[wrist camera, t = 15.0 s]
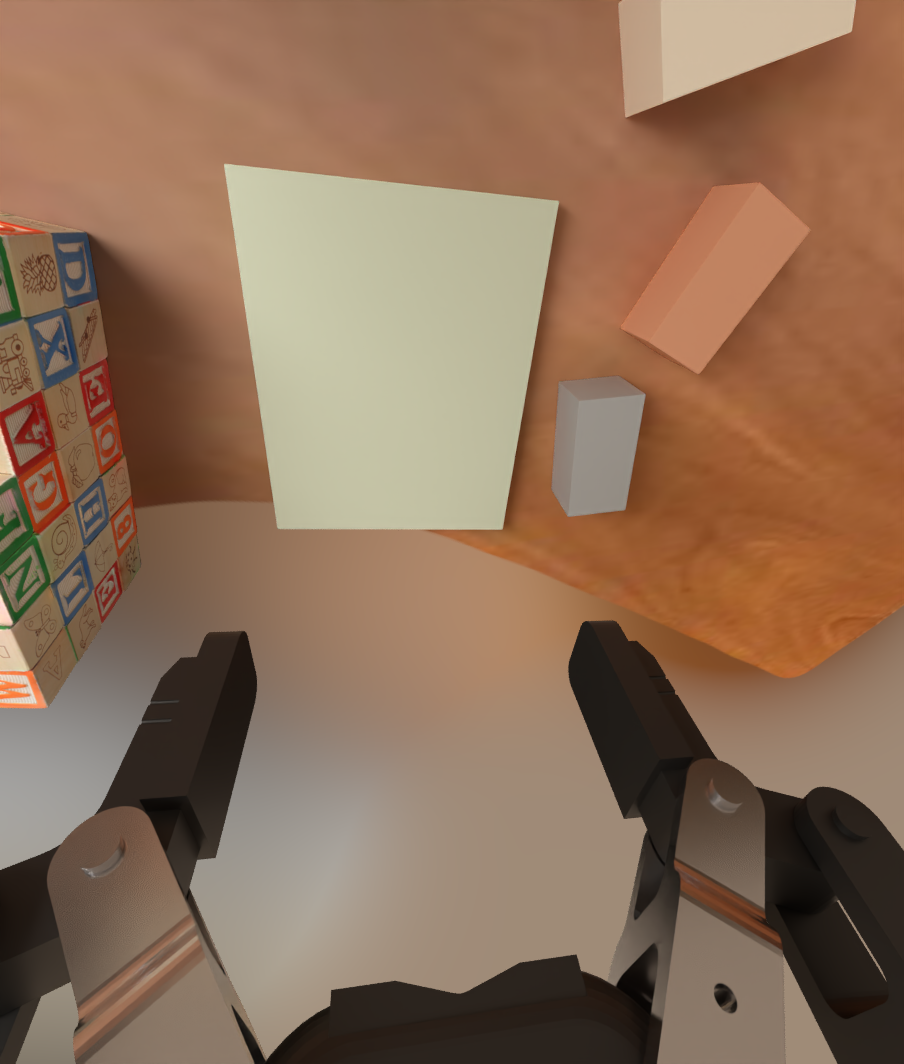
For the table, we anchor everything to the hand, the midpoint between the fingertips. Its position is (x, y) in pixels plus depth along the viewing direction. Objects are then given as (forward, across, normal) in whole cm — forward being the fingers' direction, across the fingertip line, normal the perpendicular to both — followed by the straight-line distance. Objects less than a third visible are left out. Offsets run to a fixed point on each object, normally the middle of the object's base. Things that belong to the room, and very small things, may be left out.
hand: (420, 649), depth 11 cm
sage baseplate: (+22, 0, 0) cm, 22 cm away
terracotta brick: (+22, -17, -7) cm, 28 cm away
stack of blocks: (+22, +20, +4) cm, 30 cm away
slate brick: (+22, -13, +3) cm, 25 cm away
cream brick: (+22, -14, -17) cm, 31 cm away
